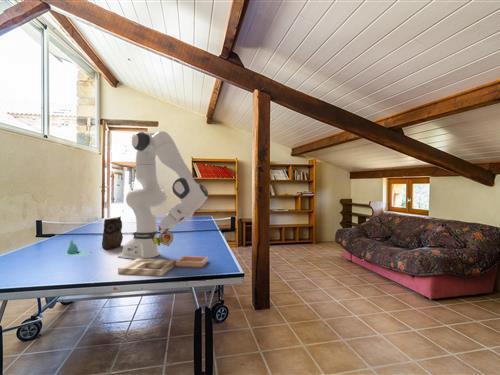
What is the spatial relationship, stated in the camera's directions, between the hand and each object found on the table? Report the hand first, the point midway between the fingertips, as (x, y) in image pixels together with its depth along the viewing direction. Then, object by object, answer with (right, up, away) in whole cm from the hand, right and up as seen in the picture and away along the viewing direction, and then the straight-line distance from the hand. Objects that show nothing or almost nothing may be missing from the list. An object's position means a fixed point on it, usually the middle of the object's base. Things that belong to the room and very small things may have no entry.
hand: (162, 231), depth 131 cm
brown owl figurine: (-49, -18, +45) cm, 69 cm away
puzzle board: (-7, -18, 0) cm, 20 cm away
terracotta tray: (+13, -19, +9) cm, 24 cm away
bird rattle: (+1, -7, -1) cm, 7 cm away
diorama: (-60, -18, +28) cm, 69 cm away
